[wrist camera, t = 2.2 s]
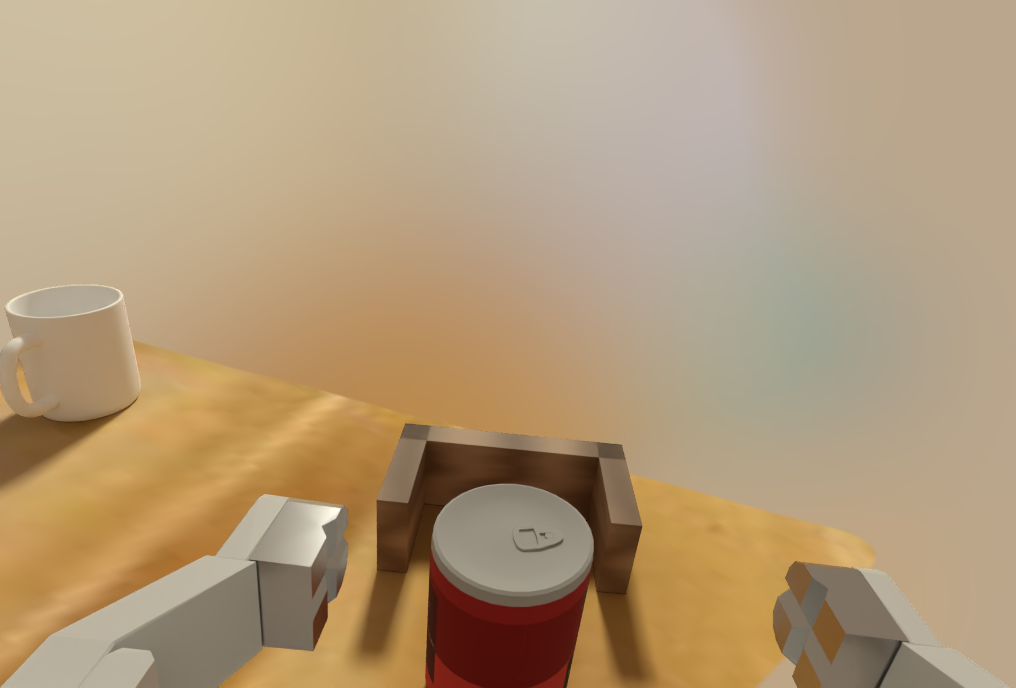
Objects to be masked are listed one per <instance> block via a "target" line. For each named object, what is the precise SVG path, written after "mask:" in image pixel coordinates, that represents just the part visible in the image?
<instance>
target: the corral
mask: <svg viewBox="0 0 1016 688" xmlns="http://www.w3.org/2000/svg"><path fill="white" fill-rule="evenodd" d="M495 484H518V485H525V486H531V487H534V488H538V489H542V490H545V491H547V492H549V493H552V494H554V495H556V496H558V497H560V498H561V499H563V500H565V501H567V502H568V503H569V504H570V505H572V506H573V507H574V508H575V509H577V510H578V512H579V513H580V514H581V515H582V516H583V517H584V518H585V519H587V522H588V525H589V527H590V529H591V533H592V536H593V540H594V551H593V568H594V576H595V584H596V591H601V592H611V593H621V594H626V590H627V586H628V582H629V578H630V574H631V570H632V566H633V562H634V558H635V554H636V550H637V546H638V542H639V538H640V533H641V529H642V523H641V519H640V515H639V511H638V507H637V503H636V499H635V495H634V491H633V487H632V483H631V479H630V475H629V471H628V467H627V464H626V459H625V456H624V452H623V448H622V445H619V444H609V443H598V442H589V441H579V440H568V439H558V438H548V437H538V436H528V435H518V434H508V433H498V432H487V431H477V430H467V429H457V428H447V427H437V426H427V425H417V424H406V423H405V426H404V429H403V431H402V434H401V437H400V439H399V442H398V445H397V447H396V450H395V453H394V455H393V458H392V461H391V463H390V466H389V469H388V471H387V474H386V477H385V479H384V482H383V485H382V487H381V490H380V493H379V495H378V498H377V570H386V571H396V572H407V568H408V565H409V561H410V557H411V553H412V549H413V545H414V541H415V537H416V533H417V530H418V526H419V522H420V518H421V514H422V510H423V506H424V504H434V505H444V506H446V505H447V504H448V503H449V502H450V501H451V500H452V499H454V498H456V497H457V496H459V495H461V494H462V493H464V492H467V491H469V490H472V489H474V488H478V487H482V486H487V485H495Z"/></svg>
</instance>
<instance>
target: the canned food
mask: <svg viewBox="0 0 1016 688" xmlns="http://www.w3.org/2000/svg"><path fill="white" fill-rule="evenodd" d="M593 551H594V540H593V536H592V533H591V529H590V527H589V525H588V524H587V522H586V520H585V518H584V517H583V516H582V515H581V514H580V513H579V512H578V510H577V509H575V508H574V507H573V506H572V505H570V504H569V503H568V502H567V501H565V500H563V499H561V498H560V497H558V496H556V495H554V494H552V493H549V492H547V491H545V490H542V489H538V488H534V487H531V486H525V485H518V484H495V485H487V486H482V487H478V488H474V489H472V490H469V491H467V492H464V493H462V494H461V495H459V496H457V497H456V498H454V499H452V500H451V501H450V502H449V503H448V504H447V505H446V506H445V507H444V508H443V509H442V511H441V512H440V513H439V515H438V516H437V519H436V522H435V524H434V528H433V534H432V541H431V554H430V573H429V598H428V624H427V649H426V675H425V678H426V684H427V688H567V683H568V678H569V674H570V669H571V664H572V659H573V655H574V650H575V645H576V641H577V636H578V631H579V627H580V622H581V617H582V612H583V608H584V603H585V598H586V594H587V589H588V584H589V580H590V573H591V568H592V563H593Z"/></svg>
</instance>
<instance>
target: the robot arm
mask: <svg viewBox="0 0 1016 688" xmlns="http://www.w3.org/2000/svg"><path fill="white" fill-rule="evenodd" d="M347 525H348V509H347V508H346V506H345V505H339V504H332V503H325V502H319V501H312V500H305V499H298V498H289V497H282V496H275V495H268V494H265V495H263V496H261V497H259V498H258V499H257V500H256V502H255V503H254V504H253V506H252V507H251V508H250V510H249V511H248V512H247V514H246V515H245V516H244V518H243V519H242V520H241V522H240V523H239V524H238V526H237V527H236V528H235V530H234V531H233V532H232V534H231V535H230V536H229V538H228V539H227V541H226V542H225V543H224V545H223V546H222V547H221V549H220V550H219V551H218V553H217V554H216V555H215V556H208V555H206V556H204V557H202V558H200V559H198V560H196V561H194V562H192V563H190V564H188V565H187V566H185V567H183V568H181V569H179V570H177V571H175V572H173V573H171V574H169V575H167V576H165V577H163V578H161V579H159V580H157V581H155V582H153V583H151V584H149V585H147V586H146V587H144V588H142V589H140V590H138V591H136V592H134V593H132V594H130V595H128V596H126V597H124V598H122V599H120V600H118V601H116V602H114V603H112V604H110V605H108V606H106V607H105V608H103V609H101V610H99V611H97V612H95V613H93V614H91V615H89V616H87V617H85V618H83V619H81V620H79V621H77V622H75V623H73V624H71V625H69V626H67V627H65V628H64V629H62V630H60V631H58V632H56V633H54V634H52V635H50V636H49V637H48V638H47V639H46V640H45V641H44V642H43V643H42V644H41V645H40V647H39V648H38V649H37V650H36V651H35V652H34V653H33V654H32V655H31V656H30V657H29V658H28V659H27V660H26V661H25V662H24V663H23V664H22V665H21V667H20V668H19V669H18V670H17V671H16V672H15V673H14V674H13V675H12V676H11V677H10V678H9V679H8V680H7V681H6V682H5V683H4V684H3V685H2V686H1V688H217V687H218V686H219V685H221V684H222V683H223V682H224V681H225V680H227V679H228V678H229V677H230V676H231V675H233V674H234V673H235V672H236V671H237V670H238V669H240V668H241V667H242V666H243V665H244V664H246V663H247V662H248V661H249V660H250V659H252V658H253V657H254V656H255V655H256V654H258V653H259V652H260V651H261V650H262V646H265V647H275V648H286V649H296V650H307V651H314V649H315V646H316V644H317V642H318V639H319V637H320V635H321V632H322V630H323V628H324V625H325V623H326V621H327V618H328V603H329V602H330V601H332V600H333V599H335V598H336V597H337V595H338V592H339V590H340V587H341V585H342V582H343V578H344V574H345V570H346V565H347V557H348V543H347V541H346V540H345V539H344V537H343V534H344V532H345V529H346V527H347ZM785 579H786V581H787V583H788V585H789V587H790V589H788V590H787V591H786V592H784V593H783V594H781V595H780V596H778V598H777V601H776V604H775V607H774V610H773V629H774V633H775V637H776V641H777V643H778V645H779V648H780V650H781V652H782V654H783V655H785V656H786V657H787V658H788V659H789V660H790V661H791V662H792V663H793V664H795V665H796V667H795V670H794V673H793V676H792V677H793V679H794V681H795V683H796V685H797V688H1011V687H1009V686H1007V685H1006V684H1005V683H1003V682H1002V681H1000V680H999V679H997V678H996V677H994V676H993V675H992V674H990V673H988V672H987V671H986V670H984V669H983V668H981V667H980V666H978V665H977V664H975V663H974V662H972V661H971V660H970V659H968V658H966V657H965V656H964V655H962V654H961V653H959V652H958V651H956V650H955V649H953V648H946V647H943V645H942V644H941V643H940V641H939V640H938V639H937V637H936V636H935V635H934V633H933V632H932V631H931V630H930V628H929V627H928V626H927V624H926V623H925V622H924V621H923V619H922V618H921V617H920V615H919V614H918V613H917V612H916V610H915V609H914V608H913V606H912V605H911V604H910V602H909V601H908V600H907V598H906V597H905V596H904V594H903V593H902V592H901V591H900V589H899V588H898V587H897V585H896V584H895V583H894V582H893V580H892V579H891V578H890V576H888V575H887V574H886V573H884V572H883V571H881V570H874V569H864V568H855V567H852V568H848V567H840V566H831V565H823V564H814V563H806V562H797V561H795V562H794V563H793V564H792V565H791V566H790V567H789V570H788V572H787V575H786V577H785Z"/></svg>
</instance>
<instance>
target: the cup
mask: <svg viewBox="0 0 1016 688" xmlns="http://www.w3.org/2000/svg"><path fill="white" fill-rule="evenodd" d="M5 311H6V315H7V318H8V321H9V325H10V328H11V331H12V334H13V338H14V339H12V340H11V341H9V342H8V343H7V344H6V345H5V346H4V347H3V349H2V351H1V353H0V386H1V390H2V393H3V396H4V398H5V401H6V402H7V404H8V405H9V407H10V408H11V409H12V410H13V411H14V412H15V413H16V414H18V415H20V416H24V417H37V416H41V415H43V416H44V417H46V418H48V419H51V420H55V421H62V422H77V421H86V420H92V419H97V418H101V417H104V416H108V415H110V414H113V413H116V412H118V411H120V410H122V409H124V408H126V407H127V406H129V405H130V404H132V403H133V402H134V401H135V400H136V398H137V397H138V395H139V393H140V390H141V382H140V376H139V371H138V366H137V361H136V356H135V351H134V347H133V342H132V337H131V332H130V327H129V323H128V317H127V312H126V307H125V302H124V297H123V294H122V293H121V292H120V291H119V290H117V289H115V288H112V287H108V286H102V285H65V286H57V287H50V288H45V289H40V290H36V291H32V292H29V293H25V294H22V295H20V296H17V297H15V298H13V299H12V300H10V301H9V302H8V303H7V304H6V305H5ZM18 357H19V358H20V361H21V365H22V368H23V372H24V375H25V378H26V382H27V385H28V388H29V392H30V395H31V398H32V401H33V403H32V404H29V403H27V402H26V401H25V399H24V398H23V396H22V394H21V392H20V389H19V385H18V380H17V371H16V368H17V360H18Z"/></svg>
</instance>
